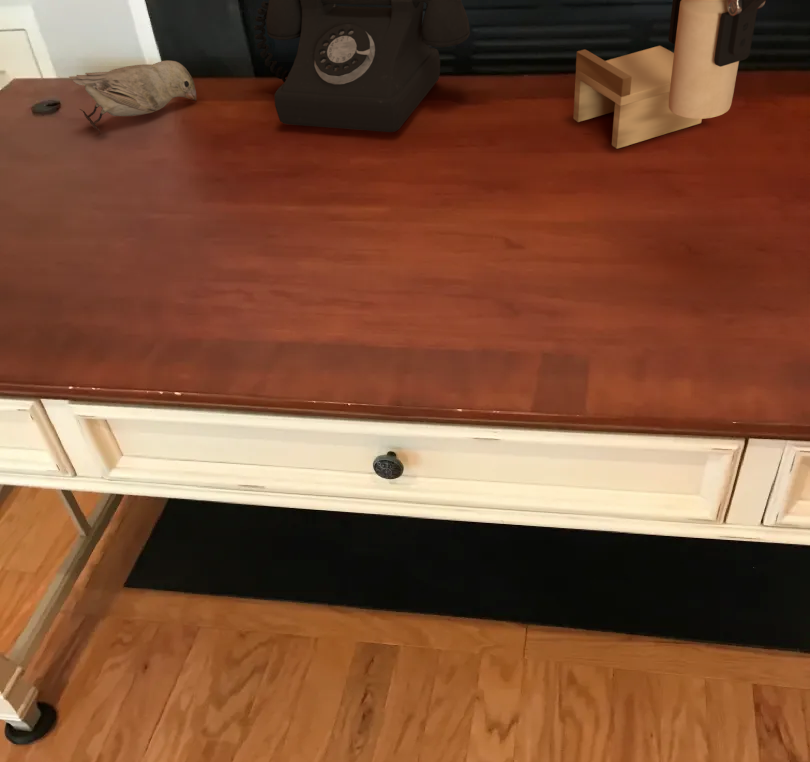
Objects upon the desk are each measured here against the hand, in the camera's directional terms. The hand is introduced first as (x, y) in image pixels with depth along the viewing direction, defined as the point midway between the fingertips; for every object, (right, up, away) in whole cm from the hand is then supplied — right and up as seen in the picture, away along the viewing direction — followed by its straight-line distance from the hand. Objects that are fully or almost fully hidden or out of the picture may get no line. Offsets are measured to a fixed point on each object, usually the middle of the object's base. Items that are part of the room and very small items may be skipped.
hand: (707, 48), depth 78 cm
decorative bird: (-63, +17, +48) cm, 81 cm away
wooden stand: (+3, +10, +34) cm, 35 cm away
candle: (0, -3, +4) cm, 5 cm away
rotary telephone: (-33, +16, +44) cm, 58 cm away
